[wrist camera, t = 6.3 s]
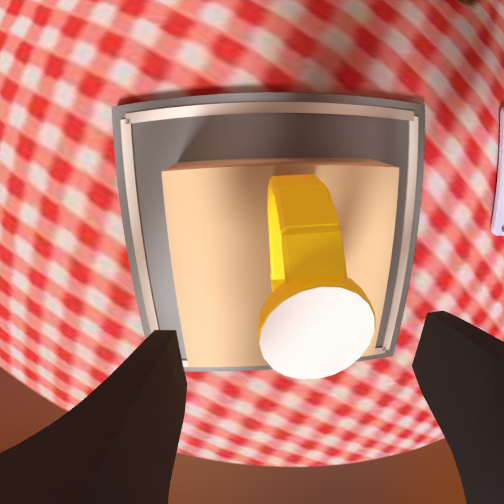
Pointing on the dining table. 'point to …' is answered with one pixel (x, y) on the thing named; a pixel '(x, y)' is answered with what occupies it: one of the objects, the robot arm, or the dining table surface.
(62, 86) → the dining table surface
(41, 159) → the dining table surface
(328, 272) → the watch
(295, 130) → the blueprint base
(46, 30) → the dining table surface
